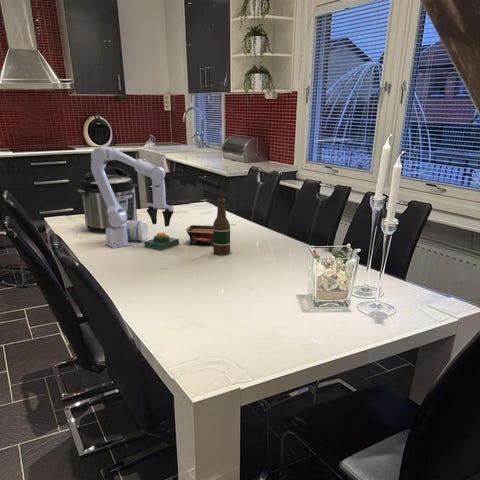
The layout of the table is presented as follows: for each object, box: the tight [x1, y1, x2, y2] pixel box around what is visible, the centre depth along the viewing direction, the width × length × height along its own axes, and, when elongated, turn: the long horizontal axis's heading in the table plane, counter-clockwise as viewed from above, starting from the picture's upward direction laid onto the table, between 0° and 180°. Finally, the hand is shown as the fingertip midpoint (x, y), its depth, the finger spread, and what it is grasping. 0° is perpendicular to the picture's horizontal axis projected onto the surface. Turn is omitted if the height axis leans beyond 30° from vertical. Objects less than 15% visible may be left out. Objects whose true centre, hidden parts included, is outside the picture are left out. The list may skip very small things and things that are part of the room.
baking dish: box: [185, 224, 213, 246], centre depth 224 cm, size 14×18×10 cm
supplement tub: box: [125, 220, 149, 242], centre depth 227 cm, size 10×10×15 cm
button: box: [156, 232, 167, 238], centre depth 218 cm, size 4×4×2 cm
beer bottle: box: [212, 197, 231, 256], centre depth 205 cm, size 8×8×24 cm
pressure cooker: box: [76, 166, 138, 234], centre depth 243 cm, size 30×28×32 cm
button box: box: [143, 234, 180, 251], centre depth 219 cm, size 13×10×4 cm
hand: (160, 225), depth 216 cm, fingers open, 7 cm apart
